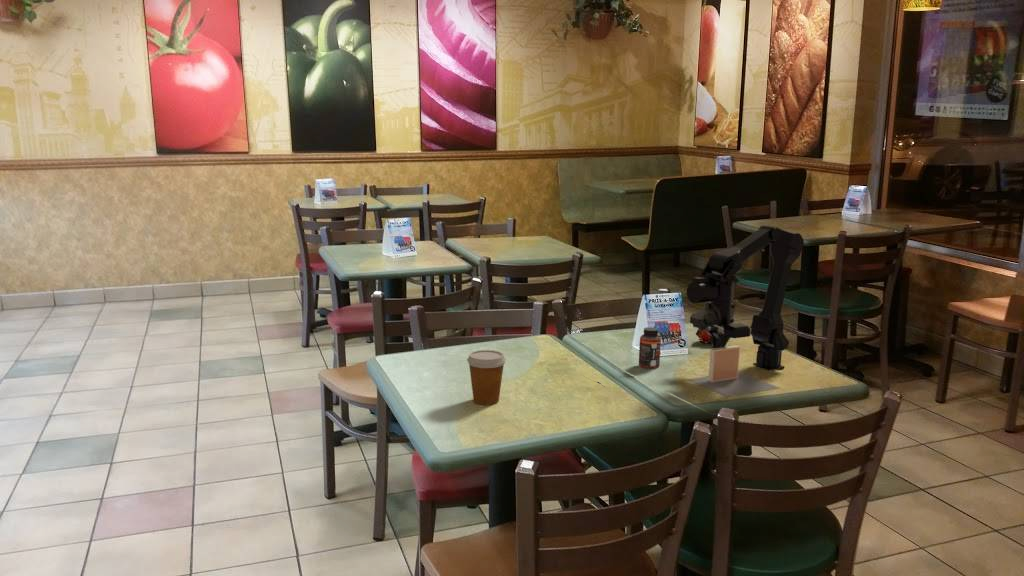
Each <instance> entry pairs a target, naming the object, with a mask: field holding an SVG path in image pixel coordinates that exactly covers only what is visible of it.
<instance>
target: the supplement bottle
mask: <svg viewBox="0 0 1024 576" xmlns="http://www.w3.org/2000/svg"><path fill="white" fill-rule="evenodd" d="M661 338H662V337H661V336H660V335H659V329H658V328H656V327H653V326H652V327H647V326H645V327H644V328H643V334H641V336H640V337H639V349H638V350H639V351H638V366H639V367H640V368H644V369H653V370H654V369H657V368H659V367H660V364H661V363H660V362H661V361H660V360H661V345H662V342H661V341H662V339H661Z"/></svg>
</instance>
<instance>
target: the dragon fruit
mask: <svg viewBox="0 0 1024 576" xmlns="http://www.w3.org/2000/svg"><path fill="white" fill-rule="evenodd" d="M722 326H723V325H722ZM695 336H696V337H698V340H699V342H700V343H704V342H708V343H712V342H711V339H710V336H709V334H708V333H707V332H705V331H704V330H700V329H699V328H697V331H696V332H695Z"/></svg>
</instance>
